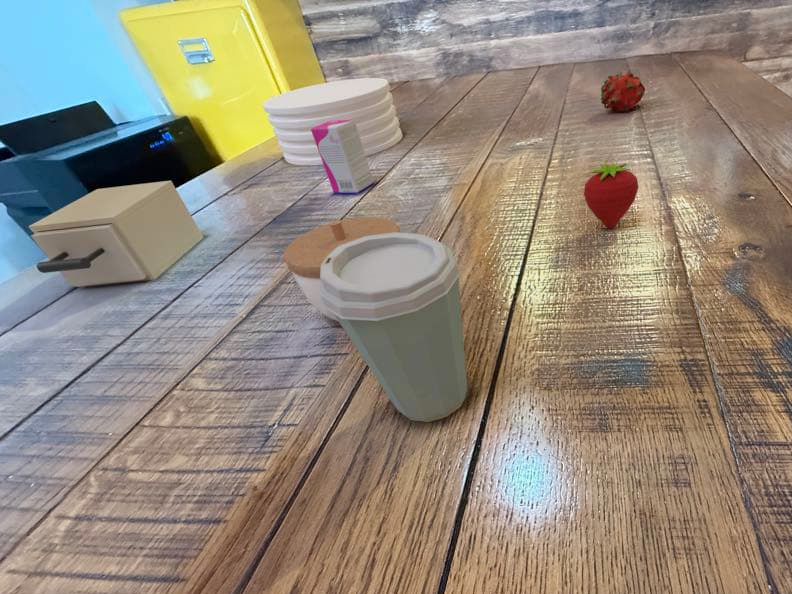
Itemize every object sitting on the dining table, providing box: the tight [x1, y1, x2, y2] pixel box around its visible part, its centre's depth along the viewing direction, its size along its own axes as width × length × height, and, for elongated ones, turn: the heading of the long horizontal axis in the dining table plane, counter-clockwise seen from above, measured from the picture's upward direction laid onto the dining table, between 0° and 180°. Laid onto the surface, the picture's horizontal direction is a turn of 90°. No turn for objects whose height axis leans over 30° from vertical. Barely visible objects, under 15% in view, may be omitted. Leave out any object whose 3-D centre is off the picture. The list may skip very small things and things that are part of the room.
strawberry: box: [583, 154, 639, 229], centre depth 69 cm, size 6×8×10 cm
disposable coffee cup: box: [320, 232, 469, 423], centre depth 43 cm, size 11×11×15 cm
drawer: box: [30, 223, 148, 287], centre depth 75 cm, size 18×11×8 cm, turn 179°
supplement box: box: [311, 120, 375, 196], centre depth 93 cm, size 6×6×12 cm
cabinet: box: [28, 180, 204, 288], centre depth 78 cm, size 15×13×10 cm
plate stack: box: [262, 77, 403, 166], centre depth 119 cm, size 28×28×12 cm
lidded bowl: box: [283, 216, 401, 322], centre depth 58 cm, size 13×13×11 cm
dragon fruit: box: [600, 71, 646, 114], centre depth 117 cm, size 8×8×12 cm
